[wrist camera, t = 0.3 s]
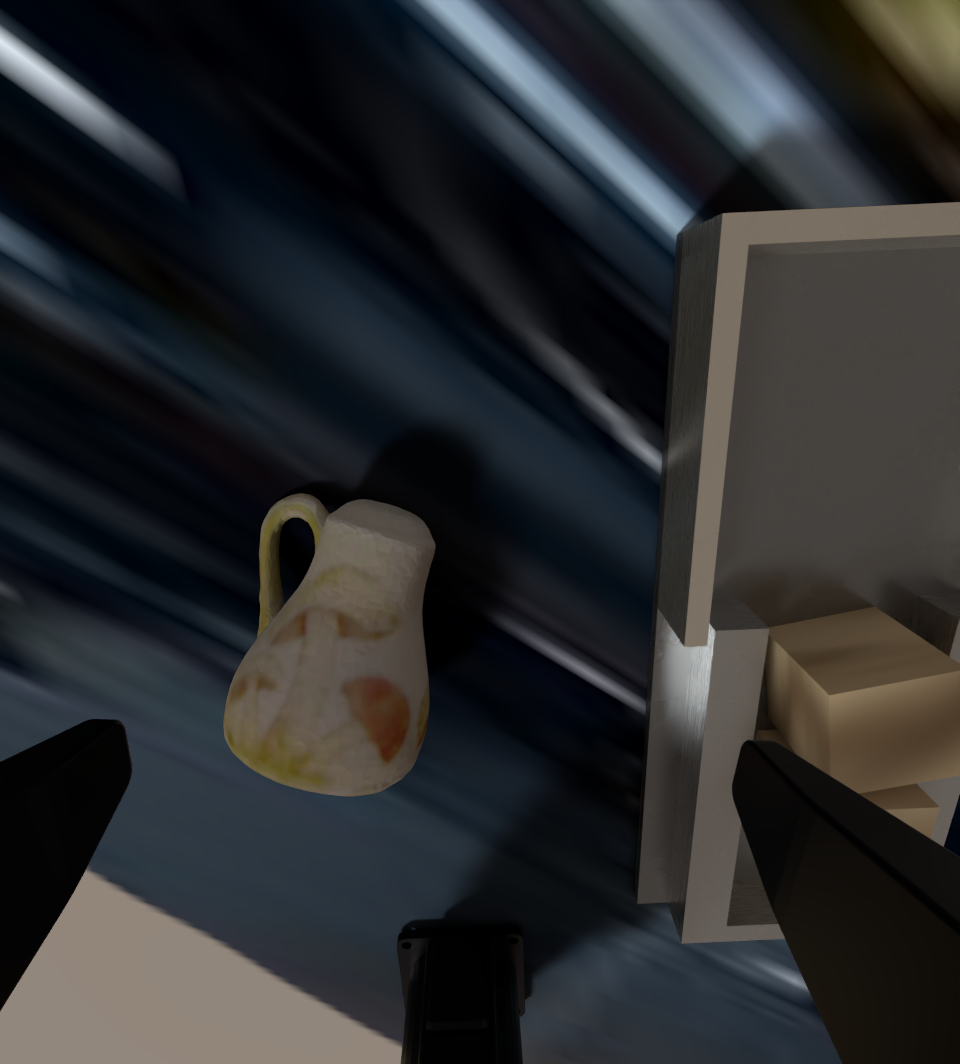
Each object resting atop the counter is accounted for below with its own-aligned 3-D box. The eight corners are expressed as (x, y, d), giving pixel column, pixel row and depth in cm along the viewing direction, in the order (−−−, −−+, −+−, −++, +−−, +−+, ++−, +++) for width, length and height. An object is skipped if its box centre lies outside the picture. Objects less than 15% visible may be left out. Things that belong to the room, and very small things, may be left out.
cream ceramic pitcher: (485, 490, 22) (506, 751, 15) (400, 615, 28) (389, 835, 22) (289, 430, 19) (214, 716, 13) (244, 583, 26) (180, 823, 19)
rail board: (908, 879, 29) (967, 953, 25) (634, 892, 29) (655, 967, 25) (1098, 215, 19) (1237, 188, 15) (676, 235, 19) (722, 213, 15)
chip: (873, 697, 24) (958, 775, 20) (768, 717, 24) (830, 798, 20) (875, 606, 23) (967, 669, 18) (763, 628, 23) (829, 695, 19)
